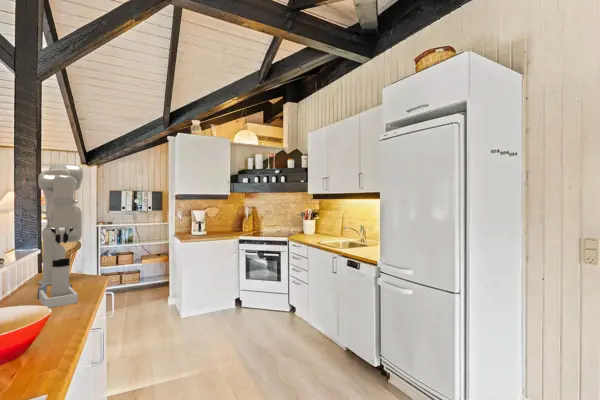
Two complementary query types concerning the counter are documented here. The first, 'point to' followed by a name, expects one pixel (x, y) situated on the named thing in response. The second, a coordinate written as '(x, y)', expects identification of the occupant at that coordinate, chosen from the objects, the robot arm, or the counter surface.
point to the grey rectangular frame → (59, 298)
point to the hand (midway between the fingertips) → (61, 242)
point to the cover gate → (43, 287)
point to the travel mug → (60, 277)
